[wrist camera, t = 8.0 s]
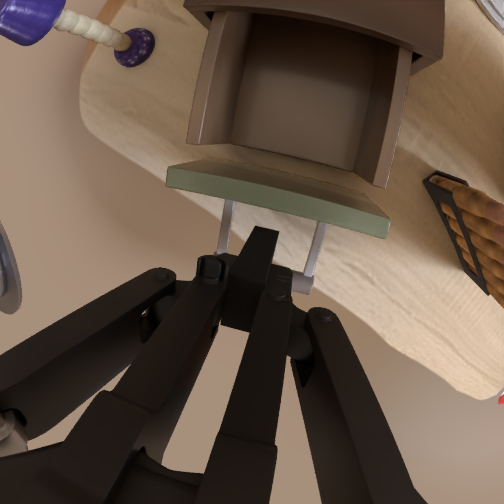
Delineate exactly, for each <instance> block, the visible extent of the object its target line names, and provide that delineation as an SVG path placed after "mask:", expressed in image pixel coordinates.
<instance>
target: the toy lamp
mask: <svg viewBox="0 0 504 504" xmlns="http://www.w3.org/2000/svg"><path fill="white" fill-rule="evenodd" d="M65 3H66V0H0V35H2V36H4V37H6V38H8V39H9V40H12V41H13V42H15V43H17V44H19V45H22V46H30V45H32V44H35V43H36V42H38V41H39V40H41V39H42V38H43V37H44V36H45V35H46V34H47V33H48V32H49V31H50V30H51V28H52V27H54V28H55V29H57V30H58V31H68V32H69V33H70V34H73V35H80V36H81V37H83V38H85V39H92V40H93V41H94V42H96V43H100V44H101V43H102V44H103V45H105V46H107V47H112V48H114V55H115V58H116V60H117V61H118V62H119V63H120V64H121V65H123V66H126V67H134V66H137V65H139V64H141V63H142V62H144V61H145V60H146V59H147V58H148V57H149V55H150V54H151V52H152V50H153V47H154V36H153V34H152V33H151V32H150V31H149V30H146V29H142V28H135V29H131V30H129V31H126V32H125V33H121V32H120V31H119V30H117V29H112V28H111V27H110V26H109V25H107V24H101V22H99V21H98V20H96V19H89V17H87V16H86V15H83V14H77V13H76V12H75V11H73V10H70V9H63V8H64V5H65Z"/></svg>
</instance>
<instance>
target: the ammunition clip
mask: <svg viewBox="0 0 504 504" xmlns="http://www.w3.org/2000/svg"><path fill="white" fill-rule="evenodd" d="M423 184H424V185H425V187H426V189H427V191H428V193H429V194H430V196H431V198H432V200H433V202H434V204H435V206H436V208H437V210H438V212H439V214H440V216H441V218H442V220H443V222H444V224H445V226H446V229H447V231H448V233H449V235H450V237H451V240H452V242H453V244H454V247H455V249H456V251H457V254H458V256H459V259H460V261H461V264H462V267H463V269H464V272H465V273H466V274H467V275H468V276H469V277H470V278H471V279H472V280H473V281H474V282H475V283H476V284H477V285H478V286H479V287H480V288H481V289H482V290H483V291H484V292H485V293H486V294H487V295H488V296H489V295H490V294H491V295H492V296H493V297H494V299H495V300H496V301H497V302H498V303H499V304H500V305H501V306H502V307H503V308H504V205H503V204H501V203H499V202H497V201H496V200H494V199H492V198H490V197H489V196H488V195H486V194H485V193H483V192H481V191H479V190H477V189H474V188H471V187H469V185H468V183H467V181H465V180H462V179H460V178H457V177H454V176H452V175H449V174H446V173H443V172H441V171H438V170H436V171H435V172H434V173H432V174H431V175H430V176H428V177H427V178H426V179H424V180H423Z"/></svg>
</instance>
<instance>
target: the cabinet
mask: <svg viewBox="0 0 504 504" xmlns="http://www.w3.org/2000/svg"><path fill="white" fill-rule="evenodd" d="M183 6H184V8H185V9H187V10H188V11H189V12H190V13H191V14H192V15H193V16H194V17H195V18H196V19H197V20H198V21H199V22H200V23H201V24H202V25H203V26H204V27H205V28H206V29H207V30H208V31H209V29H210V25H211V22H212V18H213V14H214V11H230V12H248V13H261V14H270V15H279V16H286V17H293V18H299V19H305V20H310V21H315V22H320V23H325V24H329V25H333V26H338V27H342V28H345V29H349V30H353V31H356V32H360V33H363V34H367V35H370V36H373V37H376V38H379V39H382V40H385V41H388V42H390V43H393V44H396V45H399V46H401V47H404V48H406V49H409V50H411V51H412V60H411V68H410V75H409V77H411V76H412V75H414V74H416V73H418V72H419V71H421V70H423V69H425V68H426V67H428V66H430V65H432V64H434V63H436V61H439V60H441V59H442V58H443V50H444V29H445V0H185V2H184V5H183Z"/></svg>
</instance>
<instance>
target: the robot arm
mask: <svg viewBox="0 0 504 504" xmlns="http://www.w3.org/2000/svg"><path fill="white" fill-rule="evenodd" d="M278 235H279V231H276V230H272V229H267V228H263V227H259V226H255V227H254V229H253V231H252V232H251V234H250V236H249V238H248V239H247V241H246V243H245V245H244V247H243V249H242V250H241V252H240V254H239V256H236V255H231V254H228V253H222V254H219V255H217V256H214V255H204V256H201V257H199V258H198V261H197V271H196V276H195V278H194V279H193V280H192V281H181V280H176V274H175V273H174V272H173V271H171V270H169V269H166V268H161V267H159V268H153V269H150V270H148V271H146V272H144V273H143V274H141V275H139V276H137V277H135V278H133V279H132V280H130V281H128V282H126V283H124V284H122V285H120V286H119V287H117V288H115V289H114V290H111V291H110V292H108V293H106V294H104V295H102V296H100V297H99V298H97V299H95V300H93V301H92V302H90V303H88V304H86V305H84V306H83V307H81V308H79V309H77V310H76V311H74V312H72V313H71V314H69V315H67V316H65V317H63V318H62V319H60V320H58V321H57V322H55V323H53V324H52V325H50V326H48V327H46V328H45V329H43V330H41V331H40V332H38V333H36V334H35V335H33V336H31V337H30V338H28V339H26V340H25V341H23V342H21V343H20V344H18V345H16V346H15V347H13V348H12V349H10V350H8V351H6V352H5V353H3V354H2V355H0V504H269V501H270V495H271V490H272V484H273V478H274V472H275V466H276V460H277V451H278V450H277V446H276V445H275V437H276V430H277V423H278V417H279V410H280V403H281V396H282V388H283V380H284V373H285V365H286V357H287V355H288V356H289V357H291V359H290V360H291V361H290V363H291V367H292V371H293V376H294V380H295V384H296V389H297V393H298V397H299V402H300V406H301V411H302V415H303V420H304V423H305V428H306V433H307V437H308V442H309V446H310V451H311V455H312V460H313V464H314V469H315V474H316V478H317V483H318V487H319V492H320V497H321V502H322V504H428V503H427V502H426V501H425V500H424V499H423V498H422V497H421V495H420V494H419V493H418V492H417V491H416V489H415V488H414V486H413V484H412V481H411V479H410V476H409V474H408V471H407V468H406V466H405V463H404V461H403V458H402V456H401V453H400V451H399V449H398V446H397V444H396V442H395V439H394V437H393V434H392V432H391V430H390V427H389V425H388V423H387V420H386V418H385V416H384V414H383V412H382V409H381V407H380V405H379V402H378V400H377V398H376V396H375V393H374V391H373V389H372V387H371V385H370V382H369V380H368V378H367V376H366V374H365V372H364V370H363V367H362V365H361V363H360V361H359V359H358V357H357V355H356V353H355V351H354V349H353V346H352V345H351V342H350V340H349V339H348V336H347V334H346V332H345V330H344V328H343V326H342V324H341V322H340V320H339V318H338V317H337V315H336V314H335V313H333V312H332V311H331V310H329V309H326V308H321V307H314V308H311V309H310V310H309V311H308V313H307V312H305V311H303V310H301V309H299V308H297V307H296V306H295V305H294V304H293V303H292V301H293V300H292V297H291V290H292V279H293V272H292V271H291V269H290V268H287V267H283V266H279V265H275V264H272V260H273V256H274V251H275V247H276V243H277V239H278ZM5 292H6V277H5V272H4V268H3V264H2V261H1V257H0V298H1V297H3V296H4V295H5ZM145 310H146V313H144V314H143V315H142V313H143V312H144V311H145ZM220 320H221V325H223V326H227V327H231V328H234V329H238V330H242V331H246V332H249V337H248V340H247V343H246V347H245V350H244V353H243V357H242V360H241V363H240V366H239V370H238V373H237V376H236V379H235V383H234V386H233V389H232V392H231V395H230V399H229V402H228V405H227V408H226V411H225V414H224V417H223V421H222V424H221V427H220V430H219V432H218V434H217V436H216V439H215V442H214V445H213V448H212V451H211V454H210V457H209V460H208V463H207V466H206V469H205V472H204V474H203V473H190V472H181V471H173V470H170V469H167V468H166V467H164V466H163V465H161V463H162V458H163V454H164V451H165V449H166V447H167V445H168V442H169V440H170V438H171V435H172V433H173V431H174V428H175V427H176V424H177V422H178V420H179V418H180V415H181V413H182V411H183V408H184V406H185V404H186V402H187V399H188V397H189V395H190V393H191V391H192V388H193V386H194V384H195V381H196V379H197V377H198V375H199V372H200V370H201V368H202V366H203V363H204V361H205V359H206V357H207V354H208V352H209V350H210V348H211V345H212V343H213V341H214V338H215V336H216V334H217V332H218V326H219V322H220ZM130 364H131V365H130ZM129 365H130V366H129ZM128 366H129V368H128V369H127V371H126V372H125V373H124V375H123V376H122V378H121V379H120V381H119V382H118V384H117V385H116V386H115V388H114V389H113V390H112V391H106V390H103V391H101V392H99V393H98V394H97V395H96V396H95V398H94V399H93V400H92V402H91V403H90V405H89V406H88V407H87V409H86V410H85V412H84V413H83V414H82V416H81V417H80V419H79V420H78V422H77V423H76V424H75V426H74V428H73V429H72V430H71V432H70V433H69V435H68V436H67V437H66V439H65V440H64V441H62V442H59V443H55V444H52V445H48V446H45V447H41V448H37V449H34V450H29V451H28V446H27V441H29V440H32V439H34V438H36V437H38V436H40V435H42V434H44V433H46V432H47V431H48V430H50V429H51V428H53V427H54V426H56V425H57V424H58V423H59V422H60V421H62V420H63V419H64V418H65V417H67V416H68V415H69V414H70V413H72V412H73V411H74V410H75V409H76V408H77V407H79V406H80V405H81V404H83V403H84V402H85V401H86V400H87V399H89V398H90V397H91V396H92V395H94V394H95V393H96V392H97V391H98V390H100V389H101V388H102V387H103V386H105V385H106V384H107V383H108V382H109V381H110V380H112V379H113V378H114V377H115V376H117V375H118V374H119V373H120V372H122V371H123V370H124V369H125V368H126V367H128Z"/></svg>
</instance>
